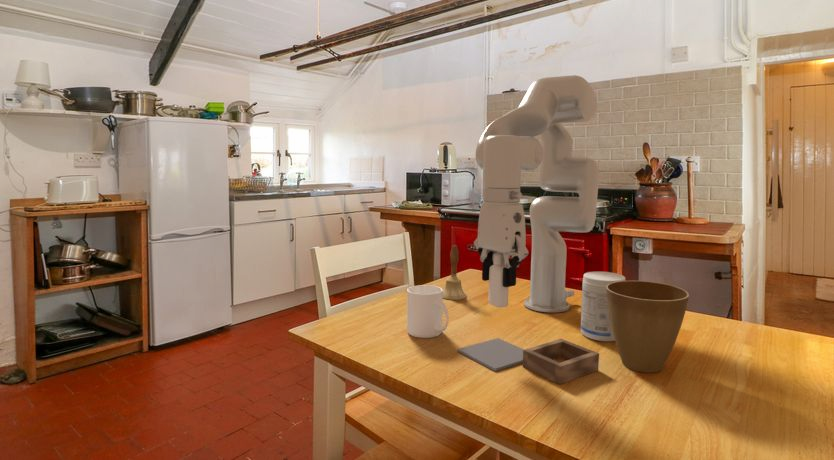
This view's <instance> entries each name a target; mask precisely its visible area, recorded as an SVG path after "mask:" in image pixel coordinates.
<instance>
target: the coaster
mask: <svg viewBox="0 0 834 460" xmlns="http://www.w3.org/2000/svg"><path fill="white" fill-rule="evenodd" d="M523 350H525V349H524V348H522V347H520V346H517V345H515V344H513V343H510V342H508V341H506V340H504V339H501V338H498V337H496V338H493V339H489V340H486V341H485V340H484V341H482V342H478V343H474V344H471V345H466V346H463V347H460V348H457V349H456V352H457V353H460V354H461V355H463V356H464V357H467V358H469V359H471V360H473V361H475V363H478V364H480V365H481V366H484V367H486V368H488V369H490V370H491V371H494V372H498V371H501V370H504V369H507V368H510V367H514V366H517V365H521V364H523Z"/></svg>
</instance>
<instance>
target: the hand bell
mask: <svg viewBox="0 0 834 460" xmlns="http://www.w3.org/2000/svg"><path fill="white" fill-rule="evenodd" d="M449 254H450V255H449V258H450V265H451V268H450V269H451V270H450V271H451V272H450V276H449V277H447V278H446V280H445V286H444V288H443V299H444V300H449V301H457V300H458V301H459V300H464V299H466V298H467V293H465V292H464V290H463V286H462V281H461V278H459V277H457V274H458V272H457V270H458V269H457V264H458V262H459V259H460V258H459V257H460V255H459V249H458V246H457V245H456V244H453V245H452V246H451V250H450V253H449Z"/></svg>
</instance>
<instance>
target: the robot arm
mask: <svg viewBox="0 0 834 460" xmlns="http://www.w3.org/2000/svg"><path fill="white" fill-rule="evenodd" d="M597 109H598V98H597V94H596V92H595V90H594V89H593V87H592V86H591V84H590V83H589V81H587V80H586V79H585V78H584V77H582V76H580V75H575V74H574V75H573V74H572V75H561V76H549V77H541V78H538V79H536V80H534V81H533V82H532V84H531V85H530V86H529V87H528V89H527V91H526V93H525V95H524V96H523V98H522V100H521V102H520V103H519V105H518V107H517V108H514V109H512V110H511V111H509V112H507V113H505V114H504V115H502V116H500V117H498V118H496V119H495V120H493V121H492V122H491V123H490V124H489V125H488V126H487V127H485V129H484V131H483V132H482V135H481V136H480V137H479V141H478V142H477V143H476V148H475V160H476V161H475V162H476V164H477V166H478V167H479V168H480V169H481V170H483V173H482V176H483V177H482V202H481V204H480V209H479V214H478V216H479V217H478V222H477V223H478V224H477V226H478V227H477V237H476V239H475V240H474V241H473V245H474V247H475V248H476V250H477V252H478V254H479V257H480V258H479V260H480V262H481V263H482V265H481V270H482V271H481V280H482V281H484V282H487V281H489V269H490V266H492V265H494V264H493V258H494V254H495V253H497V252H499V253H503V256H504V261H505V264H504V265H505V266H506V267H505V268H503V287H509V288H510V287H515V286H516V284H517V268H519V267H520V264H521V263H522V262H523V260H524V259H525V258H527V257H528V255H529V250H528V248H527V247H526V242H527V241H526V239H527V236H526V233H527V232H526V231H527V230H526V218H525V210H524V205H523V203H520V202H521V199H522V197H523V194H522V192H521V180H522V179H521V176H522V175H521V173H522V172H523V173H525V172H532V171H534V170H536V169H538V185H539V187H540V189H542V191H543V190H544V191H546V192H547V191H548V192H554V193H555V192H561V193H575V194H576V193H577V194H578V196H579V197H575V196H573V197H572V196H561V195H560V196H554V195H544V196H539V197H537V198H535V199H534V200H533V201H532V202H531V204H530V207H529V219H530V227H531V254H530V255H531V257H530V259H531V260H530V284H529V285H530V286H529V288H530V289H529V297H527V298H525V299H524V300H523V304H524V306H525V307H526V308H527V309H528V310H532V311H535V312H539V313H540V312H542V313H553V314H554V313H556V314H557V313H562V312H567V311H569V310H570V302H568V301H567V299H568V298H571V297H574V296H575V291H574V290H573V289H569V290H566V274H567V273H566V268H567V244H566V241H565V239H564V238H563V237H562V235H561V233H560V232H568V233H569V232H570V233H580V234H581V233H582V234H583V233H589V232H591V231H592V230H593V228H594V227H595V224H596V219H597V218H596V216H597V206H598V195H599V193H598V192H599V179H600V177H599V176H600V173H599V172H600V171H599V167H598V166H599V165H598V164H597V161H596V160H595V159H593V158H591V157H584V156H583V157H580V156H579V157H578V156H577V157H573V145H574V144H573V143H574V141H573V137H572V136H571V134H570V133H569V131H568V130H567V128H565V126H563V123H586V122H589V121H591V120H592V119H593V118H594V117H595V116H596V113H597V111H598V110H597ZM538 136H539V137H540V141H539V140H538V138H536V137H538Z"/></svg>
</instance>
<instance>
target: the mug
mask: <svg viewBox="0 0 834 460" xmlns="http://www.w3.org/2000/svg"><path fill="white" fill-rule="evenodd" d="M443 290H444V288H442V287H440V286H438V285H429V284H422V285H421V284H419V285H413V286H409V287H408V288H406V329H407V330H406V331H407V333H408V335H410V336H412V337H414V338H419V339H429V338H430V339H431V338H432V339H433V338H435V337H438V336H440V335H441V334H442V332H445V330H446V329H447V327H448V326H449V311H448V308H447V305H446V303H444V300H443V299H444V298H443ZM443 312H444V315H445V317H446V321H445V324H444V325H443Z"/></svg>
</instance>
